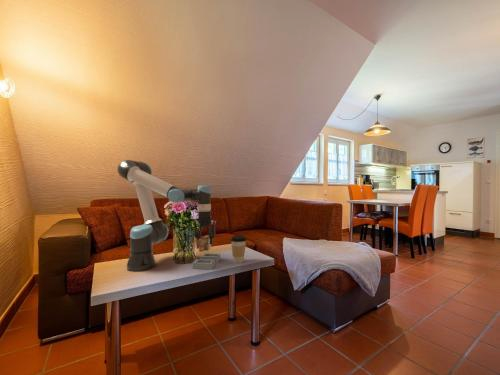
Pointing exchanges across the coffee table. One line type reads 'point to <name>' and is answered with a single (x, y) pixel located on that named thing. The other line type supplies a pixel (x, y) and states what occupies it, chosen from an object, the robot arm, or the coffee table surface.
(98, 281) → the coffee table surface
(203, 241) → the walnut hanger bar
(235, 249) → the coffee cup
